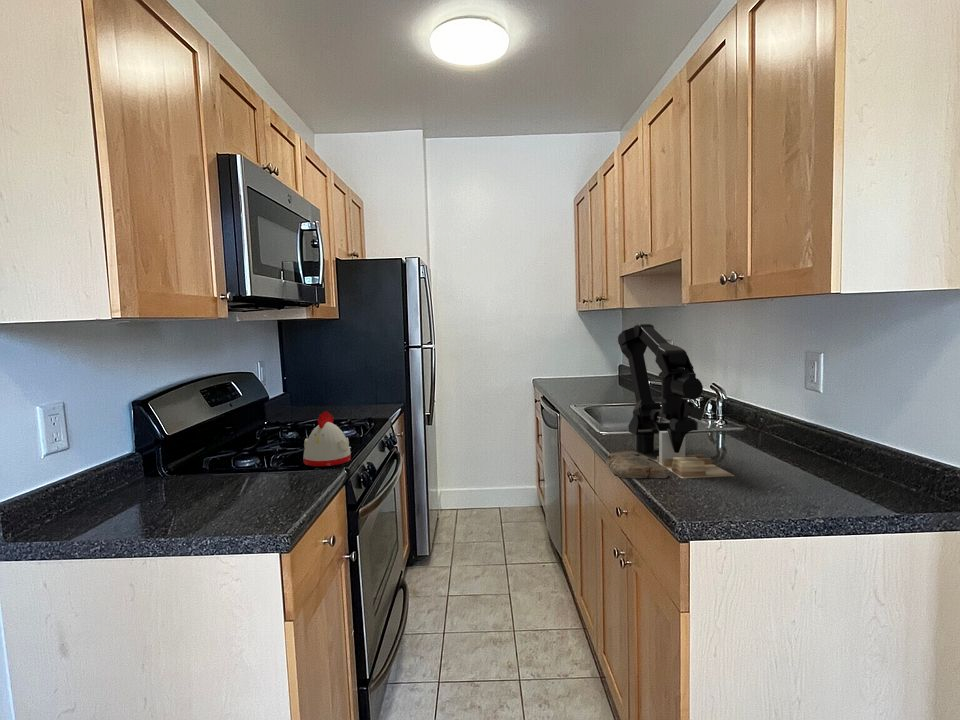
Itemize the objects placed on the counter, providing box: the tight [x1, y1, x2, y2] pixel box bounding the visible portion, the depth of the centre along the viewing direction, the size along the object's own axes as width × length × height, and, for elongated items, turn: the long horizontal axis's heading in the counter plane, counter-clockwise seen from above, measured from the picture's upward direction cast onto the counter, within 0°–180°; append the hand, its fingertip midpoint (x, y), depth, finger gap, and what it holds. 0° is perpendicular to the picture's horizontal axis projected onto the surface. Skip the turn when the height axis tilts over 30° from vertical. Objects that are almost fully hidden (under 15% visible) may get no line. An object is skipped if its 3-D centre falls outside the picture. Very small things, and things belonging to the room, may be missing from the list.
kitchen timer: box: [303, 411, 352, 467], centre depth 166 cm, size 14×14×15 cm
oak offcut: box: [672, 462, 705, 472], centre depth 142 cm, size 6×6×1 cm
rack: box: [654, 454, 735, 479], centre depth 147 cm, size 18×14×2 cm
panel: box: [658, 431, 686, 466], centre depth 152 cm, size 2×7×9 cm, turn 94°
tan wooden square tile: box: [672, 466, 706, 478], centre depth 142 cm, size 6×6×1 cm
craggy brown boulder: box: [605, 450, 669, 479], centre depth 148 cm, size 14×5×20 cm
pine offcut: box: [673, 457, 704, 467], centre depth 142 cm, size 5×6×1 cm
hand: (672, 450), depth 152 cm, fingers open, 6 cm apart
